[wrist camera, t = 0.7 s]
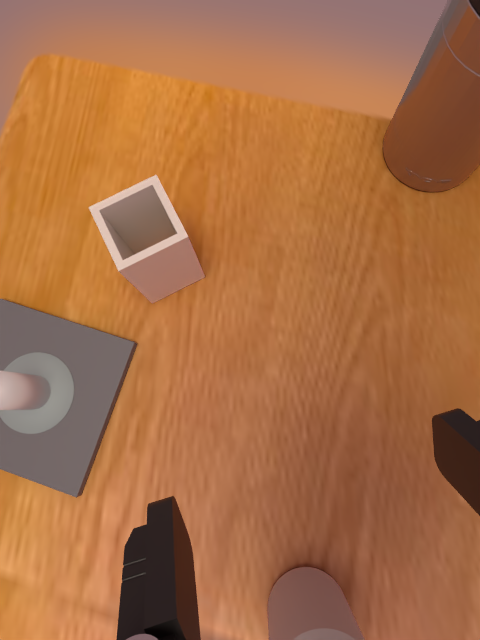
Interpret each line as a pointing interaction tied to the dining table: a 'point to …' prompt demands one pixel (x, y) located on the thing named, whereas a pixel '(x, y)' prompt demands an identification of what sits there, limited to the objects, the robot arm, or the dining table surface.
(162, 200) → the sleeve
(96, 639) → the dining table surface
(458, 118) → the robot arm
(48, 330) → the post plate
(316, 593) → the beverage can
